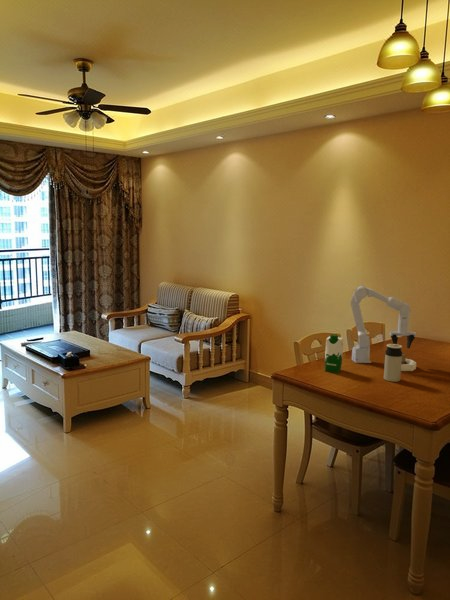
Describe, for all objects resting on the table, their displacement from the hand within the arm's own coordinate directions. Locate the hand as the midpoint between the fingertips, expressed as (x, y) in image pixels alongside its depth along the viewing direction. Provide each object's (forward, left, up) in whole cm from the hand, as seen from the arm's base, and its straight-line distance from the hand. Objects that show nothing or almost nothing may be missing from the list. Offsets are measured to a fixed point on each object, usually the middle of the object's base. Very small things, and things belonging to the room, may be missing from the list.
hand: (401, 348), depth 265 cm
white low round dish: (-2, -5, -10) cm, 11 cm away
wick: (-2, -5, -9) cm, 11 cm away
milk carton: (-43, -11, -10) cm, 45 cm away
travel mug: (-17, -27, -10) cm, 33 cm away
